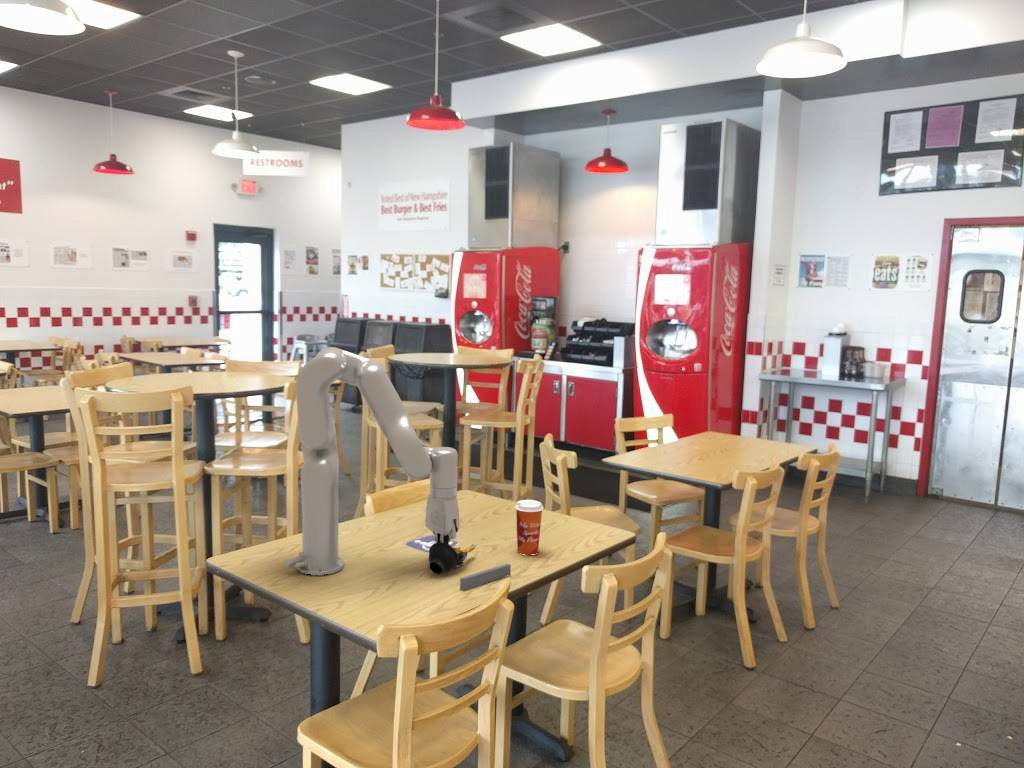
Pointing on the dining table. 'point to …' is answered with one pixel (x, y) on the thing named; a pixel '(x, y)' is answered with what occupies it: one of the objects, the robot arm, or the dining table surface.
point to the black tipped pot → (446, 557)
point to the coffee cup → (528, 526)
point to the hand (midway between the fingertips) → (442, 554)
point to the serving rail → (484, 577)
